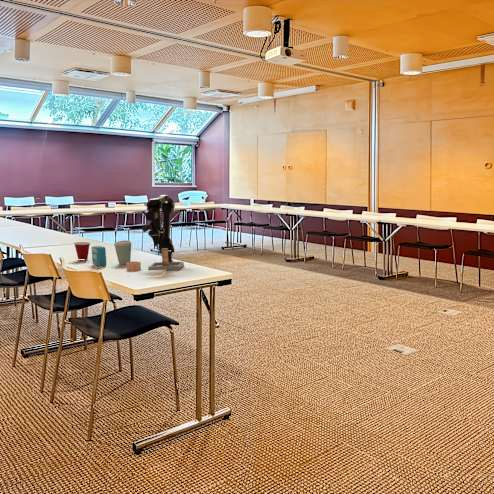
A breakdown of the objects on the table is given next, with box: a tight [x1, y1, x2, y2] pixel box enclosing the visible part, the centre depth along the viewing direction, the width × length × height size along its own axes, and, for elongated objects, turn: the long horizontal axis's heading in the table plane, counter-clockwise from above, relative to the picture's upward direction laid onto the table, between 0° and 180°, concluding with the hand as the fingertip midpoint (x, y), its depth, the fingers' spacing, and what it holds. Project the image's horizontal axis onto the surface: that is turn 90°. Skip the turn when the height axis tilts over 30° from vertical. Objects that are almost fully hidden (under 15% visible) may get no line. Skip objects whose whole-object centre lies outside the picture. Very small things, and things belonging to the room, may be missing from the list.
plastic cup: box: [73, 241, 91, 260], centre depth 367 cm, size 11×11×12 cm
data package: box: [91, 245, 107, 267], centre depth 341 cm, size 12×4×12 cm, turn 37°
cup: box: [125, 260, 142, 272], centre depth 317 cm, size 8×8×5 cm
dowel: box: [161, 248, 169, 266], centre depth 319 cm, size 4×4×11 cm
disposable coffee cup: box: [114, 240, 132, 266], centre depth 339 cm, size 11×11×15 cm
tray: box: [147, 261, 185, 272], centre depth 322 cm, size 16×18×2 cm
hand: (157, 245), depth 327 cm, fingers open, 9 cm apart
